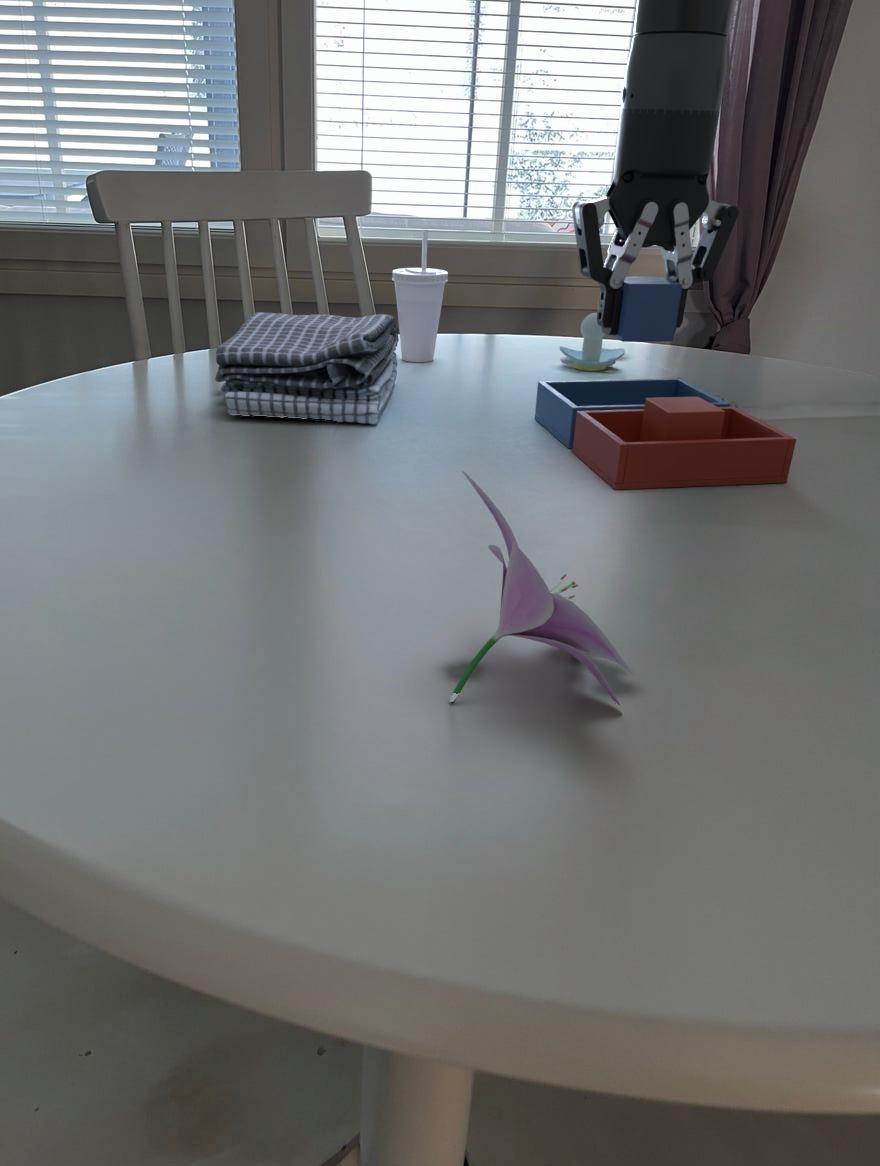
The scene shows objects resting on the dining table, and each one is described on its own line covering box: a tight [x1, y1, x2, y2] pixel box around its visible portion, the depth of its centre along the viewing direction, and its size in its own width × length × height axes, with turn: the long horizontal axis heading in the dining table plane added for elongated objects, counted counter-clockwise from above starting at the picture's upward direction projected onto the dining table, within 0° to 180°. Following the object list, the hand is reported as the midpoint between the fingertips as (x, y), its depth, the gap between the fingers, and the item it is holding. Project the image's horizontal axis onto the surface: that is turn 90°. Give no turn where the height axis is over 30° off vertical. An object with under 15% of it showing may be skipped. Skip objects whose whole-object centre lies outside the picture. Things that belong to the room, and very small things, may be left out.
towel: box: [214, 311, 400, 425], centre depth 90 cm, size 15×18×8 cm
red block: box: [639, 397, 725, 442], centre depth 75 cm, size 5×5×5 cm
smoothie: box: [391, 229, 449, 363], centre depth 107 cm, size 6×6×14 cm
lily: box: [452, 471, 633, 706], centre depth 43 cm, size 12×12×10 cm
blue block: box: [610, 275, 682, 343], centre depth 80 cm, size 5×5×5 cm
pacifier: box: [559, 312, 626, 372], centre depth 107 cm, size 7×6×6 cm
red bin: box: [571, 406, 797, 491], centre depth 75 cm, size 14×10×4 cm
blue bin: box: [534, 377, 731, 450], centre depth 84 cm, size 14×10×4 cm
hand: (638, 332), depth 81 cm, fingers closed on blue block, 4 cm apart
